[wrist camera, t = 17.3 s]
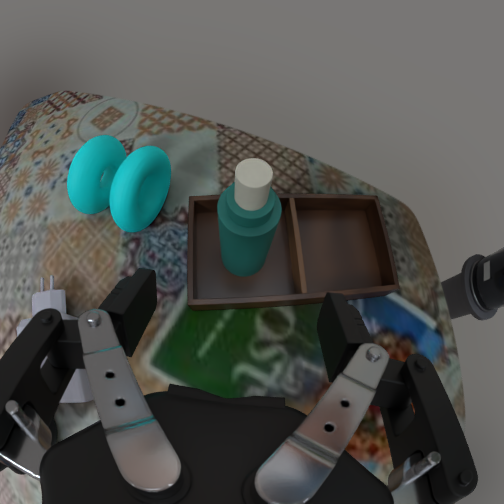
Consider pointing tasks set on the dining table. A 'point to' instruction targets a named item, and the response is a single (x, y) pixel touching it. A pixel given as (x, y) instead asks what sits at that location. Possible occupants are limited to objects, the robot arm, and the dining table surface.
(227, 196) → the bottle
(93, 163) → the donuts
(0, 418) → the robot arm
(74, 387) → the charger
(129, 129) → the dining table surface
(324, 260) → the tray
